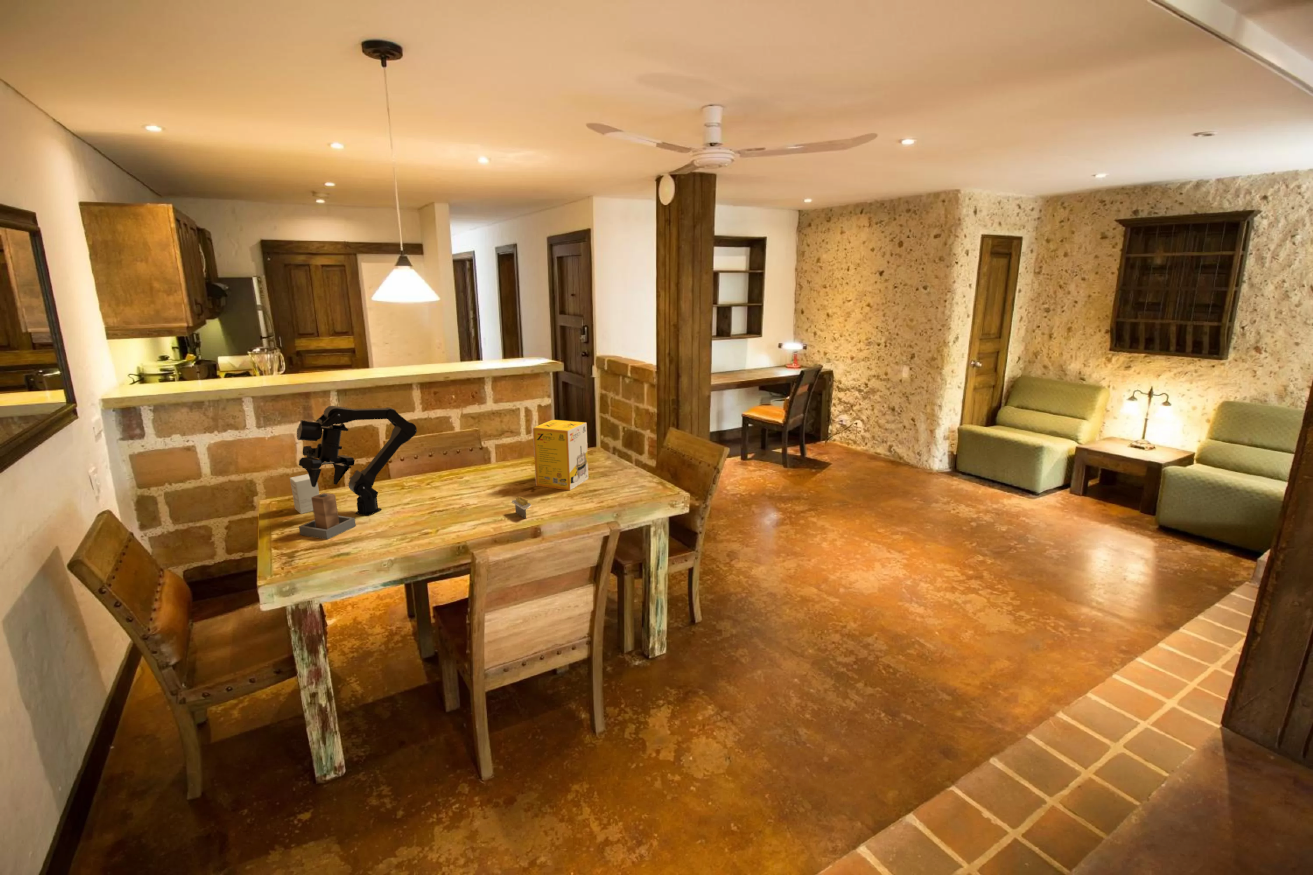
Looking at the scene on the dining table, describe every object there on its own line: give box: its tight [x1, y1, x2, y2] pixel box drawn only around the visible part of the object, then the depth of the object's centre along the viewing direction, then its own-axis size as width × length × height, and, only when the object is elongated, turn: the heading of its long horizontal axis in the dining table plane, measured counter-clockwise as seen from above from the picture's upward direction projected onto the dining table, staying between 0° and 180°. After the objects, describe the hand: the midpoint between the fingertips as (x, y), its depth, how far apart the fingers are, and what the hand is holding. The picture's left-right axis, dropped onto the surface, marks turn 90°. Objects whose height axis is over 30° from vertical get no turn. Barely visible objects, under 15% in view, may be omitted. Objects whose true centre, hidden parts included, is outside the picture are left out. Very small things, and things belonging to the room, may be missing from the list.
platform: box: [511, 496, 532, 520], centre depth 219 cm, size 12×18×7 cm, turn 39°
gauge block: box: [311, 492, 339, 530], centre depth 205 cm, size 5×5×12 cm
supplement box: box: [289, 473, 320, 515], centre depth 225 cm, size 7×7×13 cm
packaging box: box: [532, 419, 589, 491], centre depth 253 cm, size 16×16×25 cm
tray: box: [298, 515, 357, 540], centre depth 206 cm, size 12×12×3 cm
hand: (324, 485), depth 211 cm, fingers open, 9 cm apart
